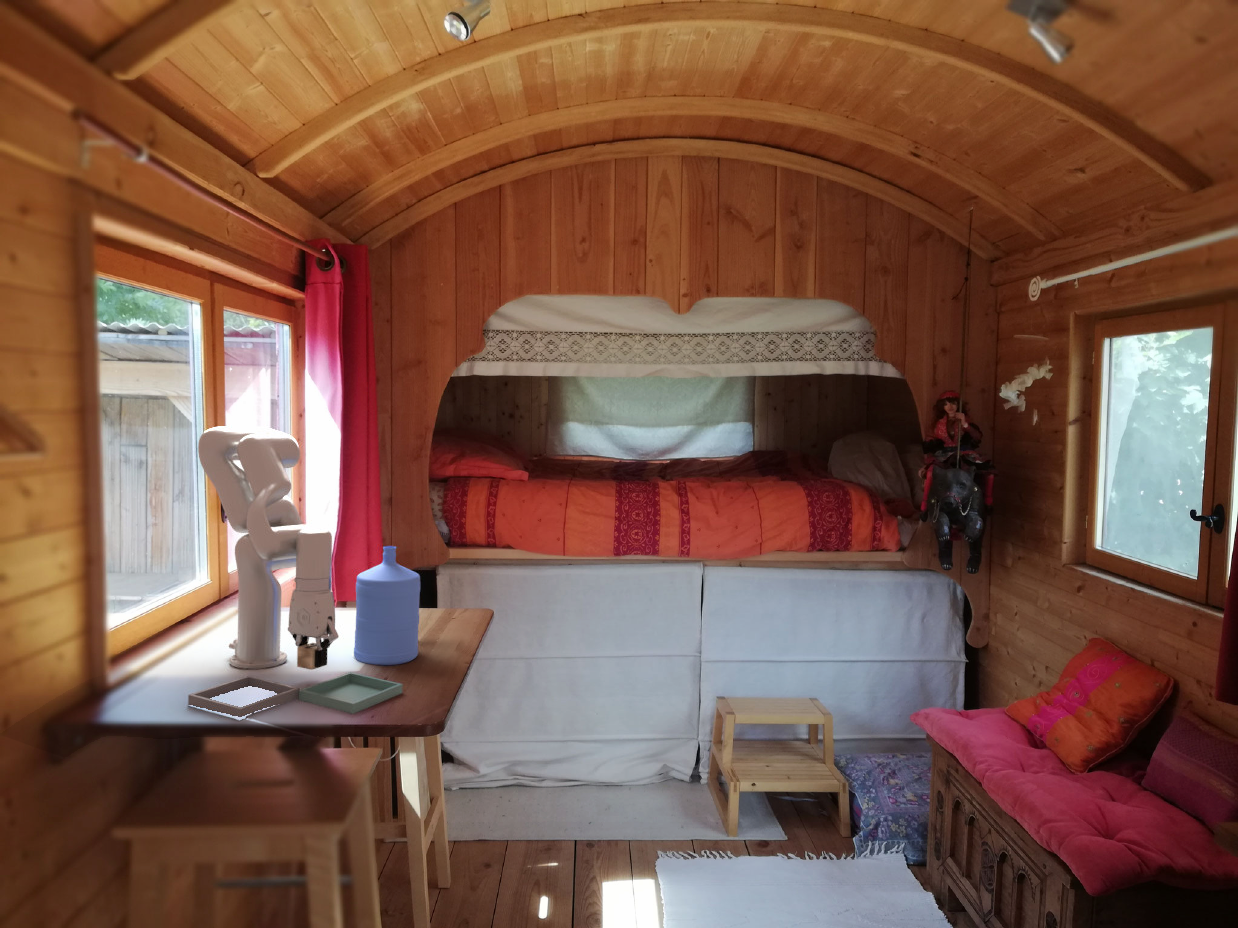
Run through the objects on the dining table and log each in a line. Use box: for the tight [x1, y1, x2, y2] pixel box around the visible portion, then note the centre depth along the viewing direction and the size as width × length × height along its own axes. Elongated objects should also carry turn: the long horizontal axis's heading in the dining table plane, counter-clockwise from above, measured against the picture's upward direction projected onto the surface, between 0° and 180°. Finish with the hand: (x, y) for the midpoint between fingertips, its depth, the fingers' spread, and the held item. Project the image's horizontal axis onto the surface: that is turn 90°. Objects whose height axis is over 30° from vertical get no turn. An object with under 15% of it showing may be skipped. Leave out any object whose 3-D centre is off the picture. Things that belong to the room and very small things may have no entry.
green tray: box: [298, 671, 403, 715], centre depth 180 cm, size 15×15×2 cm
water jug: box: [353, 545, 421, 666], centre depth 209 cm, size 16×16×28 cm
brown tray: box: [187, 675, 300, 717], centre depth 174 cm, size 15×15×2 cm
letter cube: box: [296, 642, 317, 671], centre depth 188 cm, size 4×4×5 cm
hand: (312, 663), depth 188 cm, fingers closed on letter cube, 4 cm apart
